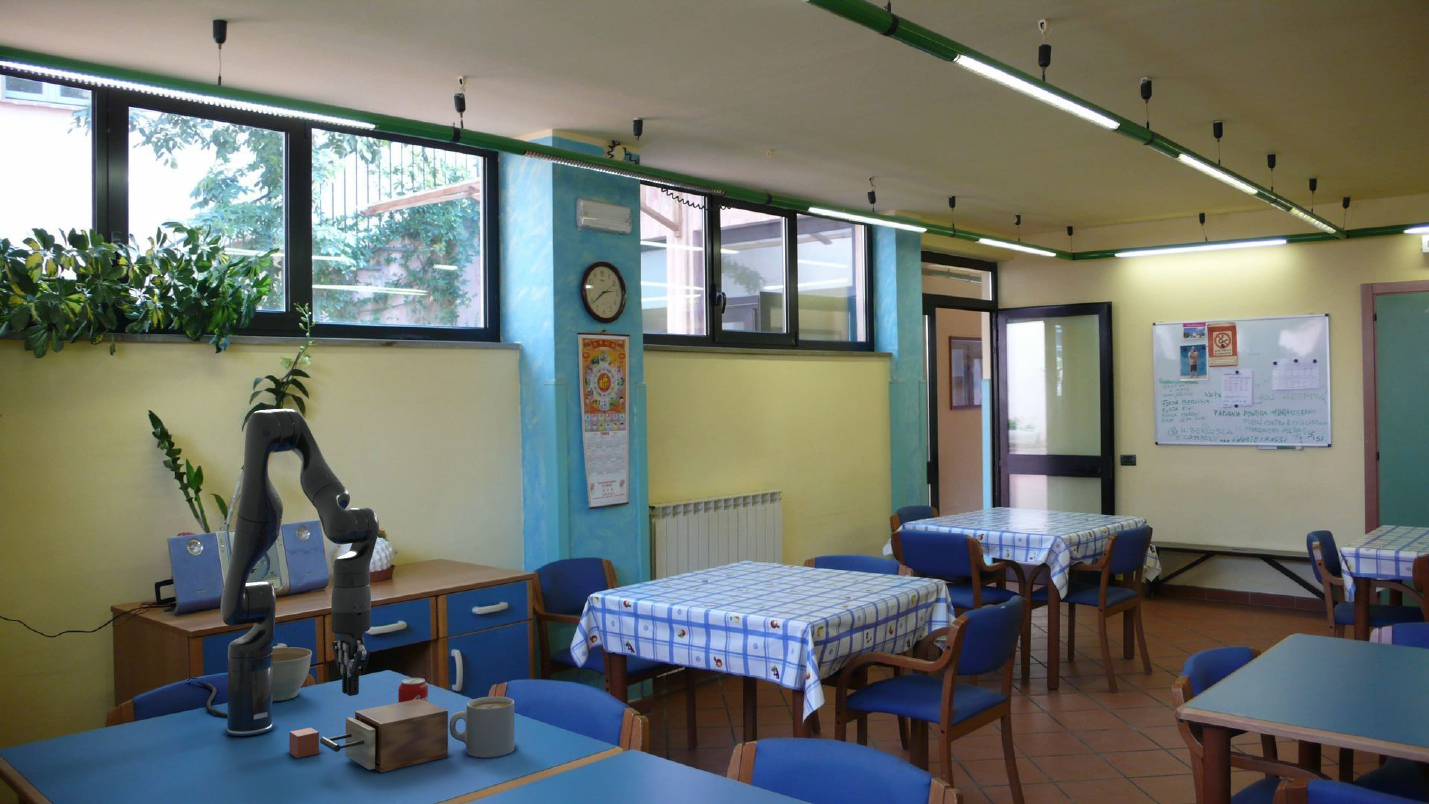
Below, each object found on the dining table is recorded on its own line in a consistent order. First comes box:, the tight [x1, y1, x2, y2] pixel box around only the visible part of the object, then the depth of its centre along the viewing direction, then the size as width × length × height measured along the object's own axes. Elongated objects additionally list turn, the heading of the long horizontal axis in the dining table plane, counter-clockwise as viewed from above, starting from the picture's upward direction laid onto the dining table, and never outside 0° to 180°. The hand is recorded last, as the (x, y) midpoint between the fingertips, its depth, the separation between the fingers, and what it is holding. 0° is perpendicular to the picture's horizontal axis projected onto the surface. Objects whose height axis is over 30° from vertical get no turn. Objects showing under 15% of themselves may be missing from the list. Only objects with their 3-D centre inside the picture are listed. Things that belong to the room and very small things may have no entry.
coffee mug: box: [448, 696, 515, 758], centre depth 222 cm, size 13×10×10 cm
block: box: [288, 727, 320, 759], centre depth 219 cm, size 4×4×4 cm
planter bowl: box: [272, 646, 313, 702], centre depth 263 cm, size 16×16×11 cm
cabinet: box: [354, 699, 449, 773], centre depth 217 cm, size 15×13×10 cm
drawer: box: [319, 716, 380, 771], centre depth 213 cm, size 20×11×8 cm, turn 132°
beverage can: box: [397, 677, 429, 703], centre depth 232 cm, size 6×6×12 cm
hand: (350, 693), depth 209 cm, fingers closed
